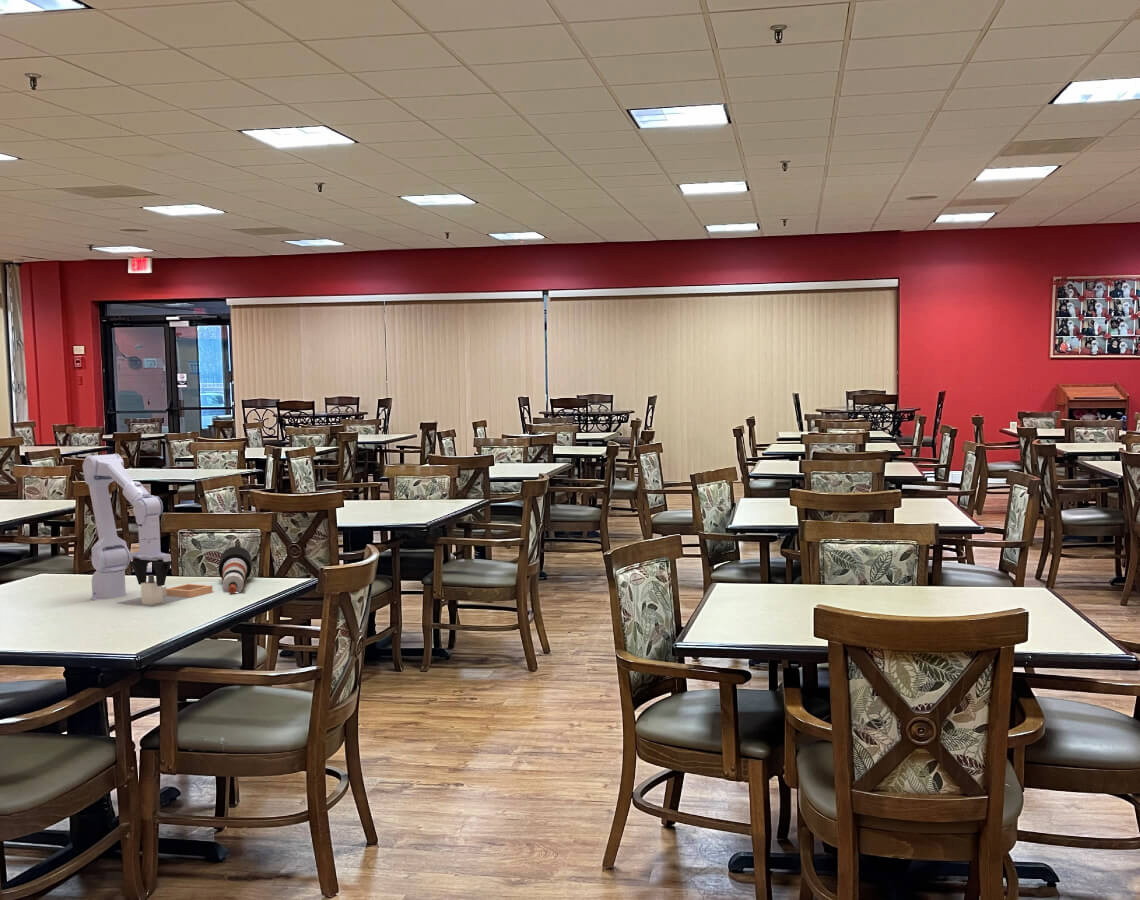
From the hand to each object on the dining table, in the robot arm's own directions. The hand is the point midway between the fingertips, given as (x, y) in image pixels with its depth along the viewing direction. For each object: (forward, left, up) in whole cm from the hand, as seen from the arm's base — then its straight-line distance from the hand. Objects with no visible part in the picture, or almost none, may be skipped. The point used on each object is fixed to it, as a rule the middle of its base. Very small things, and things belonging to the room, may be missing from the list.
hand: (151, 584), depth 300 cm
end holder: (0, +14, -6) cm, 15 cm away
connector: (0, 0, -5) cm, 5 cm away
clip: (-6, +7, -6) cm, 11 cm away
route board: (-3, +8, -6) cm, 10 cm away
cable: (+2, +31, -7) cm, 32 cm away
